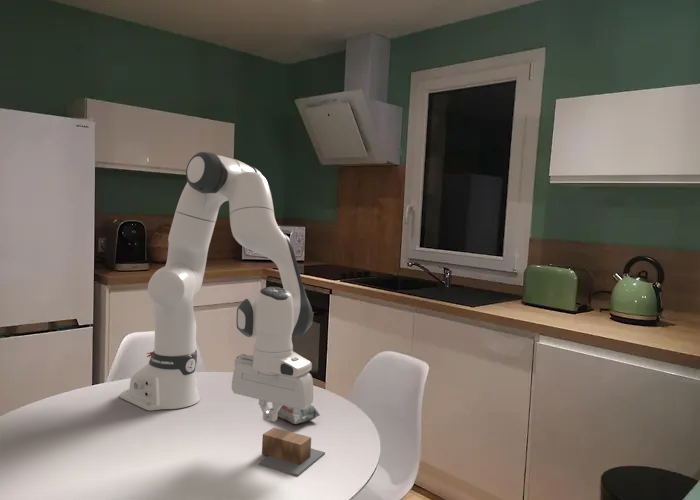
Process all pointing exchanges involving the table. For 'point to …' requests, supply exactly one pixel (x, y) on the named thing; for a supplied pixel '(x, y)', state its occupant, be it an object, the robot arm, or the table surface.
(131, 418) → the table surface
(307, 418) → the packaged food
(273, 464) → the mat
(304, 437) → the pillar
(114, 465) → the table surface
